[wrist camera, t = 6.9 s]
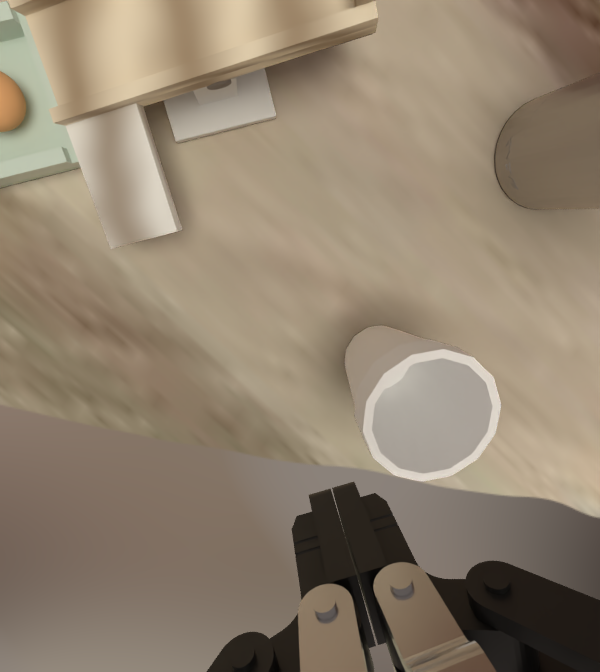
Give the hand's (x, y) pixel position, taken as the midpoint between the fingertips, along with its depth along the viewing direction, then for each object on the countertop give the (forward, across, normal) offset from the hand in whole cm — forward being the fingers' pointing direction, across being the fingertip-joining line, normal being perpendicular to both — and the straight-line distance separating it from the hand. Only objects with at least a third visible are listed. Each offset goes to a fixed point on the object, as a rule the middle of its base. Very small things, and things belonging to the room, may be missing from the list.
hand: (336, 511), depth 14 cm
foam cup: (+27, -8, +6) cm, 29 cm away
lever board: (+22, -1, -17) cm, 27 cm away
